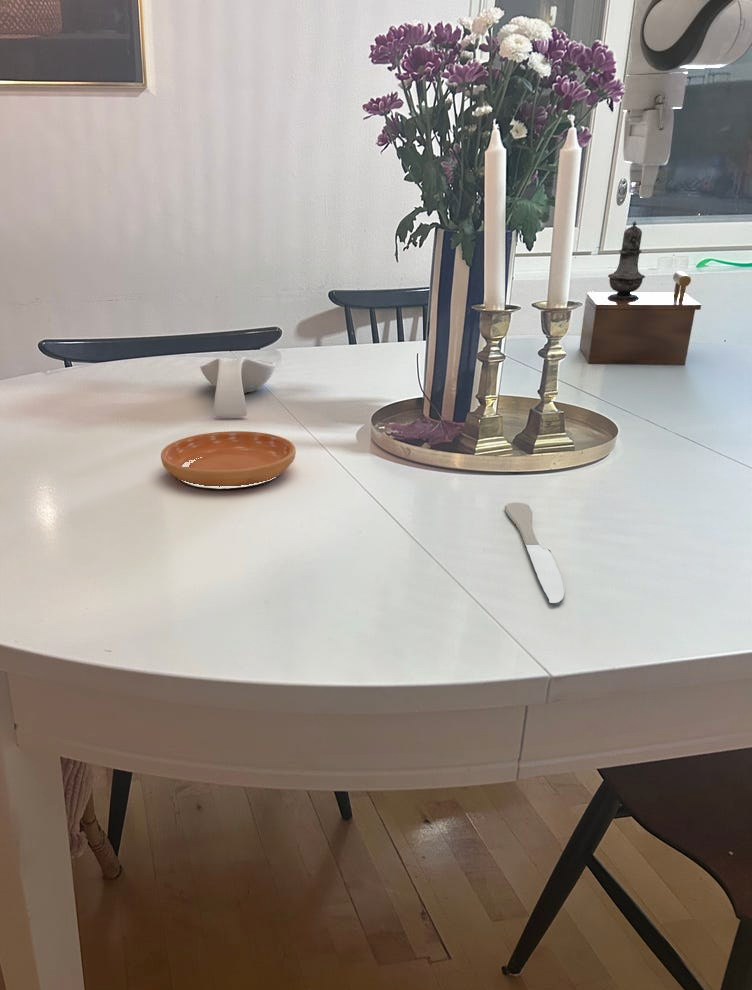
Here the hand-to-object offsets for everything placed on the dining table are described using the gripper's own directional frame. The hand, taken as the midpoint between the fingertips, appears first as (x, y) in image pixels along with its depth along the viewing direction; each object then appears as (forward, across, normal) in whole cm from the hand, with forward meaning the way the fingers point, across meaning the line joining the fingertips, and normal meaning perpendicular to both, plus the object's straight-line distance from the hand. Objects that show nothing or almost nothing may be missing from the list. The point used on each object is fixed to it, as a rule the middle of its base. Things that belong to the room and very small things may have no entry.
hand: (639, 195), depth 151 cm
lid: (+17, 0, -3) cm, 17 cm away
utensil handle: (+25, -89, +21) cm, 95 cm away
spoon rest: (+25, -34, +61) cm, 74 cm away
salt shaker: (+16, 0, 0) cm, 16 cm away
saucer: (+25, -69, +55) cm, 92 cm away
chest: (+25, 0, -2) cm, 25 cm away
